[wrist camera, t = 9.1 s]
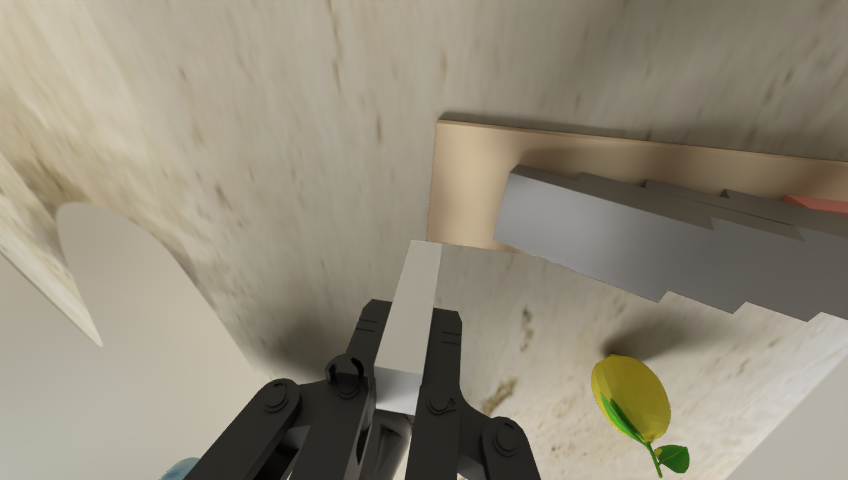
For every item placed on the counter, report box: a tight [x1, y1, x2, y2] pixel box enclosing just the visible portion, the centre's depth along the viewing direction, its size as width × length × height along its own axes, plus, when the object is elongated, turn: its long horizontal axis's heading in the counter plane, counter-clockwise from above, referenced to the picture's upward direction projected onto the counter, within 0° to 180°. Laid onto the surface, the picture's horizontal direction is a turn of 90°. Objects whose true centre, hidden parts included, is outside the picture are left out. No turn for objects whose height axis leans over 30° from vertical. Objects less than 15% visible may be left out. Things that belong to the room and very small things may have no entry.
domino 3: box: [642, 179, 848, 322], centre depth 18 cm, size 2×5×10 cm
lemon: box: [591, 354, 690, 478], centre depth 26 cm, size 7×6×10 cm
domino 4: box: [720, 189, 848, 320], centre depth 17 cm, size 2×5×10 cm
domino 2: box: [578, 172, 807, 314], centre depth 18 cm, size 2×5×10 cm
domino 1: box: [493, 164, 714, 303], centre depth 18 cm, size 2×5×10 cm
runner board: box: [427, 119, 848, 255], centre depth 20 cm, size 26×9×1 cm, turn 86°
